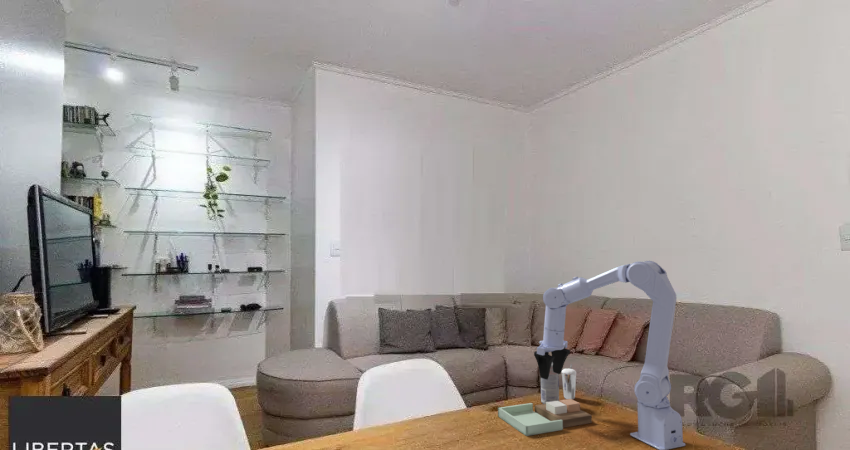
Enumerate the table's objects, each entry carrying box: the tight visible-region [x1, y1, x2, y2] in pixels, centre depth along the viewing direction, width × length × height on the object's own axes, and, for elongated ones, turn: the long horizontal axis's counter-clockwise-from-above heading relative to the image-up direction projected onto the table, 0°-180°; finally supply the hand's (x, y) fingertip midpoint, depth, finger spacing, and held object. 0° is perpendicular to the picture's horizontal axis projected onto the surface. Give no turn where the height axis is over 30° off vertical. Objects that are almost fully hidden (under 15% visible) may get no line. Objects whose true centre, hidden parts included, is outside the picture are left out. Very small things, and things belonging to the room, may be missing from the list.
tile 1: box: [546, 401, 567, 414], centre depth 122 cm, size 4×4×2 cm
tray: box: [497, 402, 564, 437], centre depth 119 cm, size 14×11×2 cm
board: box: [534, 403, 593, 429], centre depth 123 cm, size 12×10×2 cm
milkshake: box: [561, 363, 577, 400], centre depth 140 cm, size 4×5×10 cm
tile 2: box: [559, 398, 581, 412], centre depth 124 cm, size 4×4×2 cm
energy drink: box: [540, 362, 560, 404], centre depth 135 cm, size 5×5×12 cm
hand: (550, 375), depth 127 cm, fingers open, 7 cm apart
